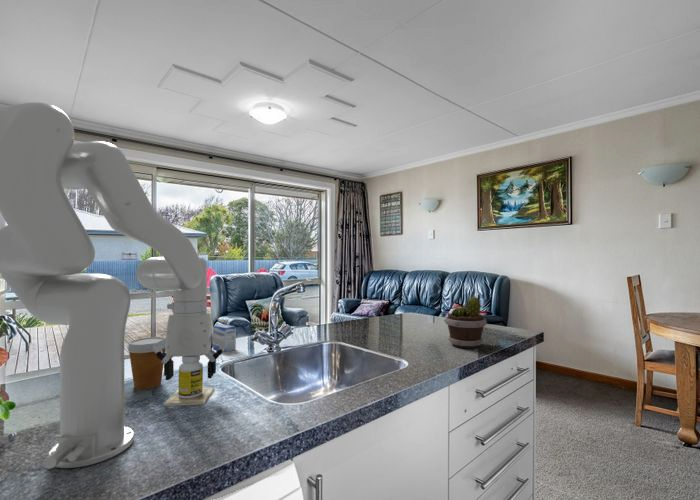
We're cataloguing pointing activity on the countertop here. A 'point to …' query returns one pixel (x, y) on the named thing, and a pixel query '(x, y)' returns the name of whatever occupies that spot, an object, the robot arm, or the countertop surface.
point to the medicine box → (225, 336)
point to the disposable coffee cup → (145, 363)
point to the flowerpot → (466, 324)
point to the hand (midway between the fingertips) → (190, 377)
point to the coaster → (200, 399)
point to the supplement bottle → (190, 377)
